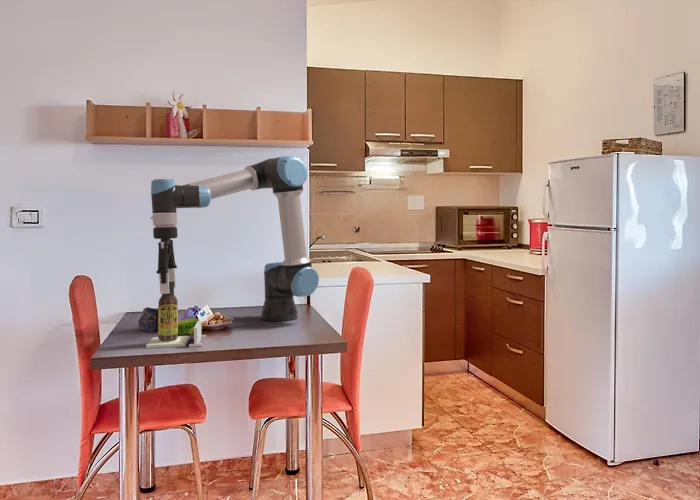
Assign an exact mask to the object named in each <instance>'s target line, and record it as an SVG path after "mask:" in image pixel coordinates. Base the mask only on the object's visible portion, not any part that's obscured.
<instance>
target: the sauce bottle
mask: <svg viewBox="0 0 700 500" xmlns="http://www.w3.org/2000/svg"><path fill="white" fill-rule="evenodd" d="M174 284H175V285H176V280H175V281H174V280H169V294H161V296H160V298H159V300H158V330H157V332H158V337H159V340H161V341H173V340H176V339H177V338H178V337H177V336H178V335H177V334H178V321H179V314H178V313H179V307H178V303H179V302H178V298H177V297H176V294H175V288H174Z"/></svg>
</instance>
